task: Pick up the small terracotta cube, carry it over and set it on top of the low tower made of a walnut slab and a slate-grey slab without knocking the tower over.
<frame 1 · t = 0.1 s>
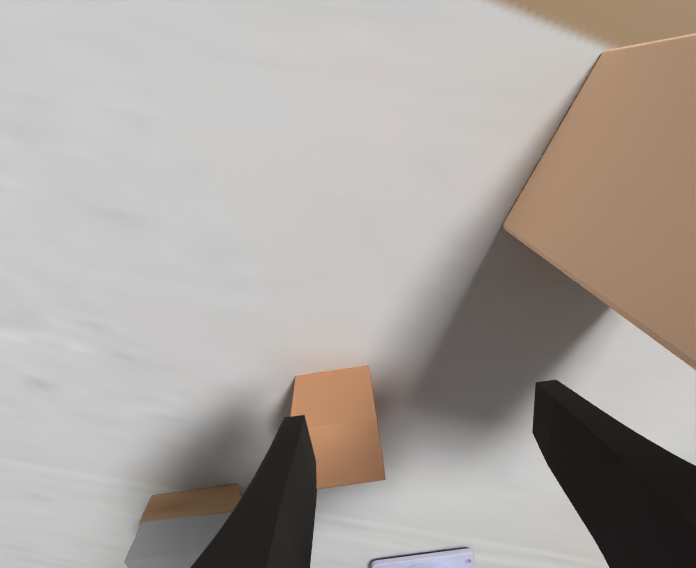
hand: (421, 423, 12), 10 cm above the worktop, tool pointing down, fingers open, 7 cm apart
terracotta cube: (337, 398, 25), on the worktop
walnut slab: (208, 512, 29), on the worktop, touching slate slab
soap dispenser: (583, 162, 19), on the worktop
slate slab: (201, 545, 27), point 2 cm above the worktop, touching walnut slab
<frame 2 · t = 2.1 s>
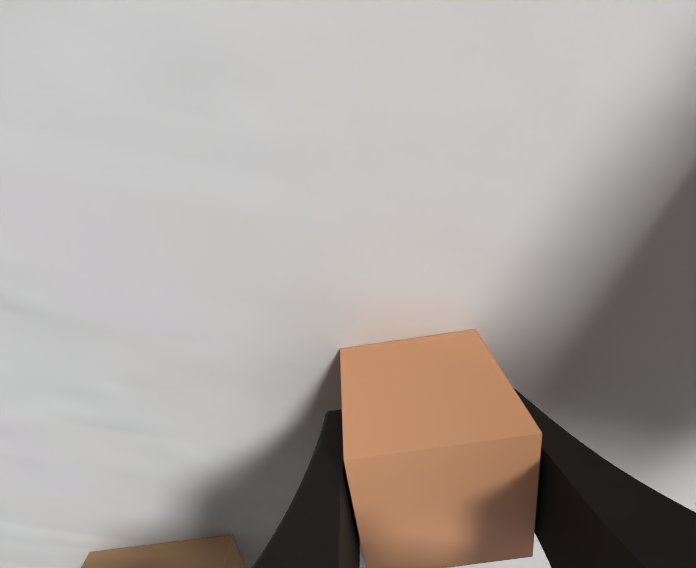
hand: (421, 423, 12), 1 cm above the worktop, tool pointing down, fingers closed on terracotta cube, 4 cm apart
terracotta cube: (412, 392, 14), on the worktop, touching gripper
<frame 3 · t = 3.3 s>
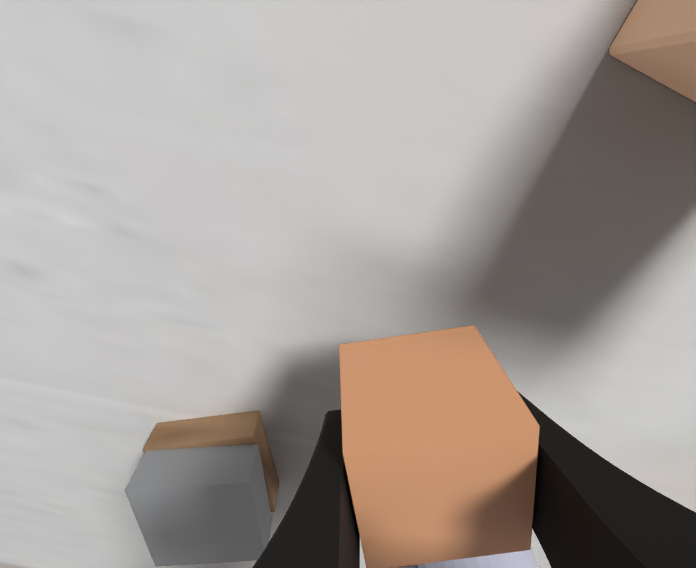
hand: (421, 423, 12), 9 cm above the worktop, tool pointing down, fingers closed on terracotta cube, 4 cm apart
terracotta cube: (411, 388, 14), point 7 cm above the worktop, touching gripper
walnut slab: (222, 448, 25), on the worktop, touching slate slab
slate slab: (212, 486, 23), point 2 cm above the worktop, touching walnut slab
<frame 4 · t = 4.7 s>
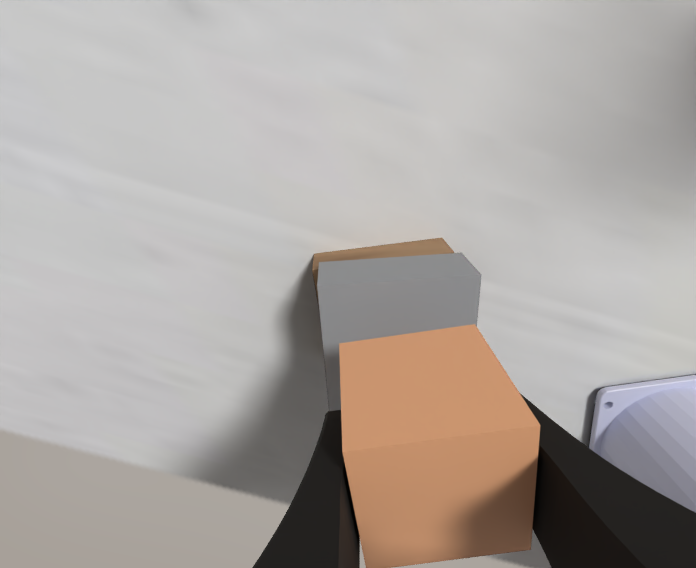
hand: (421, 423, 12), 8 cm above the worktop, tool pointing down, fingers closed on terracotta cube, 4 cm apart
terracotta cube: (411, 387, 14), point 7 cm above the worktop, touching gripper
walnut slab: (382, 298, 20), on the worktop, touching slate slab
slate slab: (391, 319, 18), point 2 cm above the worktop, touching walnut slab
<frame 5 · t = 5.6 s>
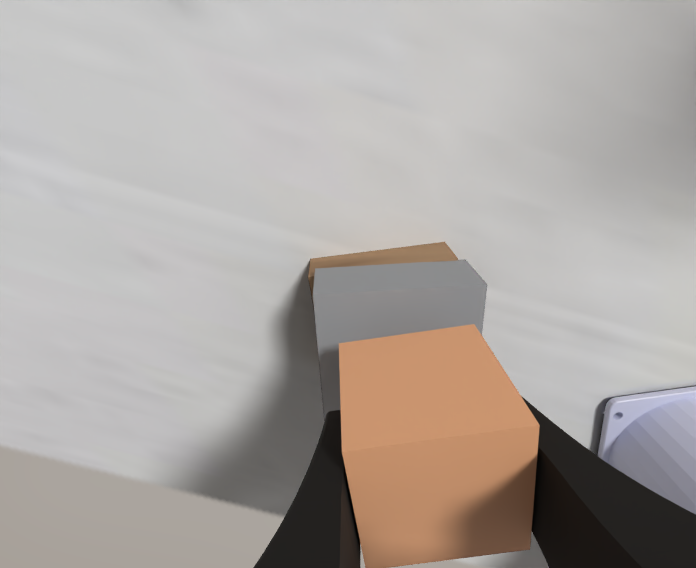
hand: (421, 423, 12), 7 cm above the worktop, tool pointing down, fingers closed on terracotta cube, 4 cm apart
terracotta cube: (411, 387, 14), point 6 cm above the worktop, touching gripper
walnut slab: (382, 305, 19), on the worktop, touching slate slab
slate slab: (390, 329, 17), point 2 cm above the worktop, touching walnut slab
when the fingers open (7 cm above the worktop, at t = 5.7 s): terracotta cube drops 1 cm, resting on slate slab.
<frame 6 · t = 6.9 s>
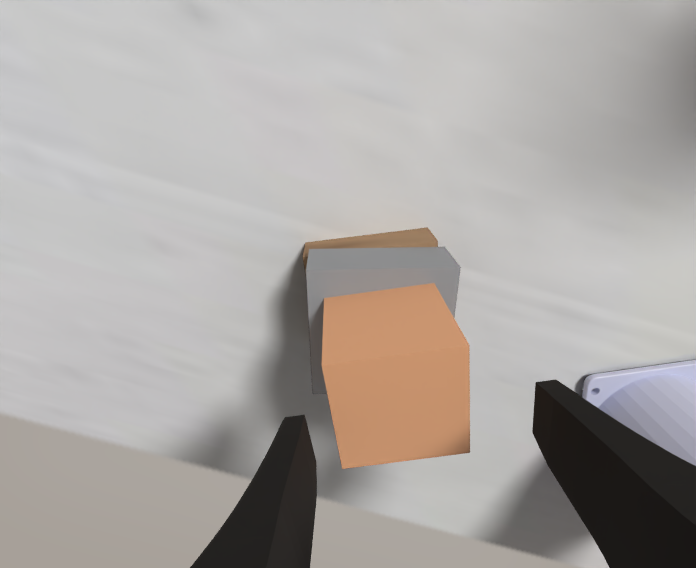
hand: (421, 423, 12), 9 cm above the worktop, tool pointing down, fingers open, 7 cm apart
terracotta cube: (384, 337, 17), point 4 cm above the worktop, touching slate slab
walnut slab: (371, 286, 21), on the worktop, touching slate slab
slate slab: (375, 307, 19), point 2 cm above the worktop, touching terracotta cube, walnut slab
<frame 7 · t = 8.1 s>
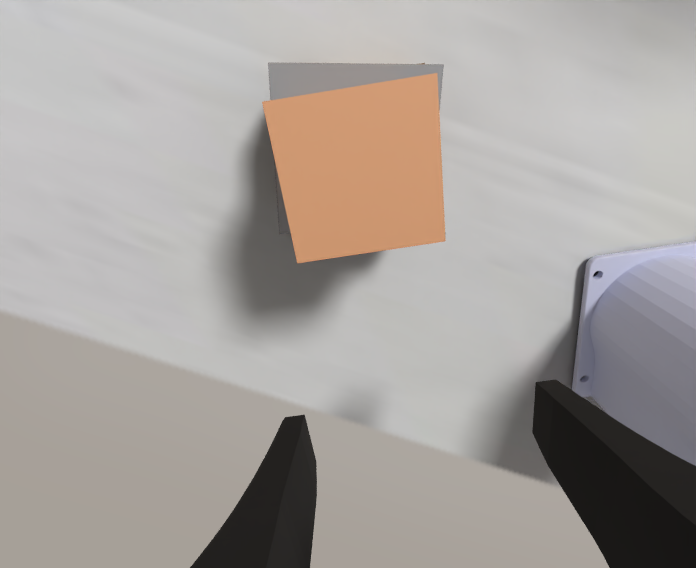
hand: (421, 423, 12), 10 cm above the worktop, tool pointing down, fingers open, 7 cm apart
terracotta cube: (354, 156, 15), point 4 cm above the worktop, touching slate slab
slate slab: (352, 148, 17), point 2 cm above the worktop, touching terracotta cube, walnut slab
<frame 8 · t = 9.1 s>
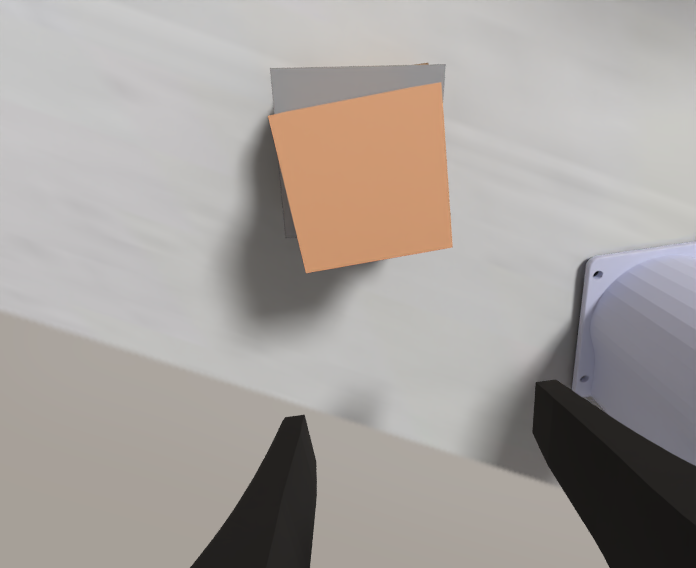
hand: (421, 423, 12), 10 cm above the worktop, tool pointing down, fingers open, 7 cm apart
terracotta cube: (357, 163, 15), point 4 cm above the worktop, touching slate slab
slate slab: (355, 151, 17), point 2 cm above the worktop, touching terracotta cube, walnut slab
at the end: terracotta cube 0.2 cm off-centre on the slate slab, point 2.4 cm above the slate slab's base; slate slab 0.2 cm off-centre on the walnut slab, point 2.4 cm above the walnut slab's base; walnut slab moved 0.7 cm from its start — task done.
